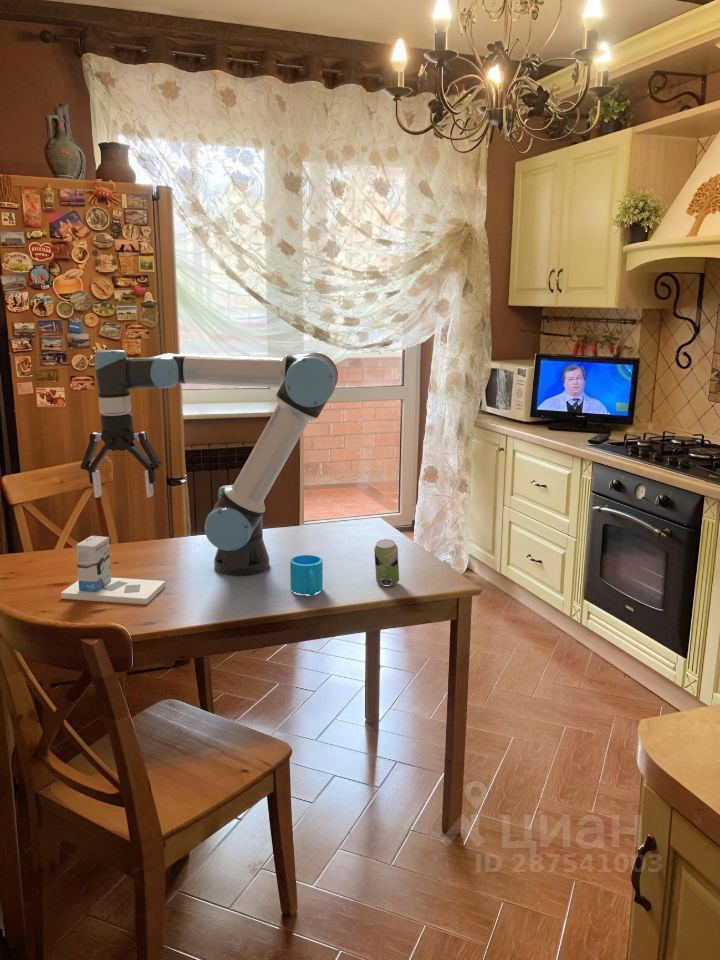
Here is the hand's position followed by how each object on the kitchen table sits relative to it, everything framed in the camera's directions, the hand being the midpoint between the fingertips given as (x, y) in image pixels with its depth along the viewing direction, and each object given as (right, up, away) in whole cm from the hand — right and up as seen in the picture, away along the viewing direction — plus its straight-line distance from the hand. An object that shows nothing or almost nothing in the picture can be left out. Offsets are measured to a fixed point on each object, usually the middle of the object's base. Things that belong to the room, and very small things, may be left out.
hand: (124, 496), depth 193 cm
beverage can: (+67, -23, +6) cm, 71 cm away
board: (-2, -24, -2) cm, 24 cm away
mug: (+47, -25, 0) cm, 53 cm away
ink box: (-7, -23, -2) cm, 24 cm away
